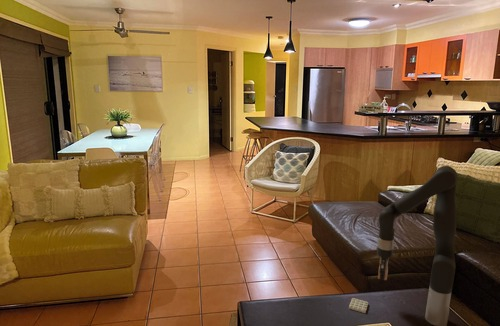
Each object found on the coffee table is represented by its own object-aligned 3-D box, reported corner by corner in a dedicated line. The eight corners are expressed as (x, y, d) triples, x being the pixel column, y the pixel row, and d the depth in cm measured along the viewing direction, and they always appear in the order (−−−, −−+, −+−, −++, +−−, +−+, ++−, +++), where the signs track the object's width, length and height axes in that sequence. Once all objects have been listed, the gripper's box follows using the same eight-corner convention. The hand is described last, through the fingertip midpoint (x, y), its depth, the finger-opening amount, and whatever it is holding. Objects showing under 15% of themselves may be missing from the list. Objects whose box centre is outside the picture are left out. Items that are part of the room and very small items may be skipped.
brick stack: (387, 276, 184) (388, 265, 182) (386, 280, 180) (387, 268, 179) (378, 274, 186) (379, 263, 184) (377, 278, 182) (378, 266, 181)
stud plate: (367, 304, 184) (368, 301, 183) (365, 313, 177) (365, 310, 177) (352, 299, 187) (352, 297, 187) (348, 308, 180) (349, 305, 180)
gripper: (391, 254, 171) (388, 286, 175) (394, 241, 183) (391, 272, 188) (375, 250, 174) (372, 282, 178) (379, 239, 187) (376, 268, 191)
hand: (382, 276), depth 183 cm, fingers closed on brick stack, 4 cm apart
